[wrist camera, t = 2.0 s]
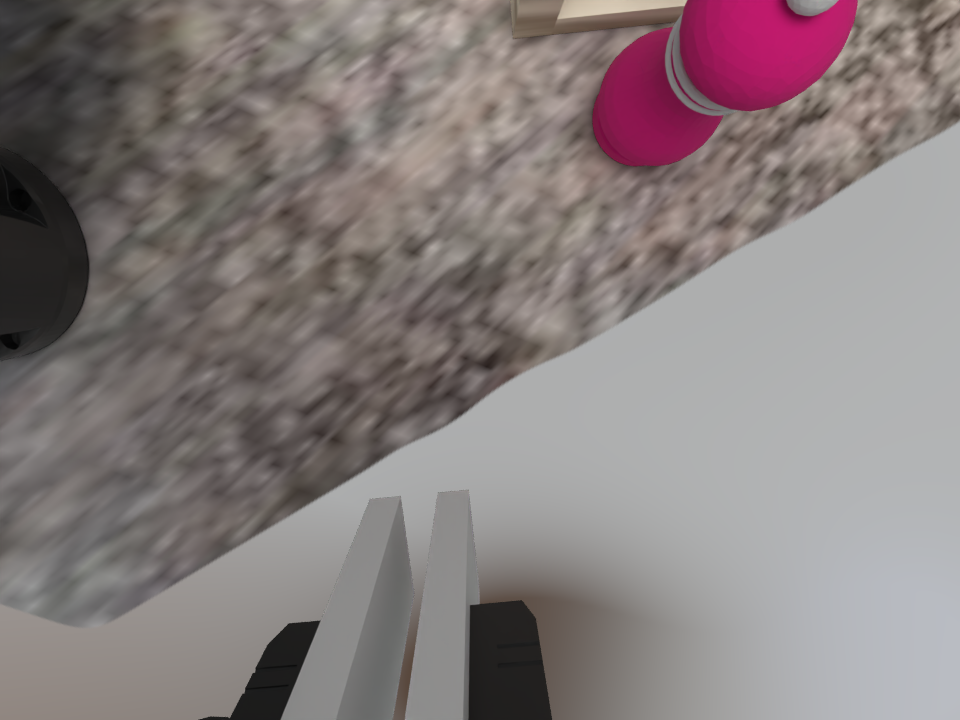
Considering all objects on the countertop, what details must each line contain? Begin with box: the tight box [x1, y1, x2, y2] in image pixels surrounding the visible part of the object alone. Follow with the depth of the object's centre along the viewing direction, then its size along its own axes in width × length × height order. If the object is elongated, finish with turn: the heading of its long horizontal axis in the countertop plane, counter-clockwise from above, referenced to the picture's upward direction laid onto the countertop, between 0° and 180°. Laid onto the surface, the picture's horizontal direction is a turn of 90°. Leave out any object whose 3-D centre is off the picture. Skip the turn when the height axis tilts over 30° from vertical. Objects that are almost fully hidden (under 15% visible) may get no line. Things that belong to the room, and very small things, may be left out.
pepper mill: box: [593, 0, 857, 166], centre depth 26 cm, size 7×7×20 cm
